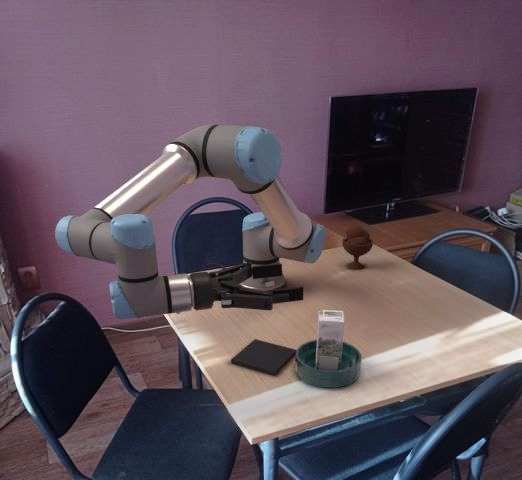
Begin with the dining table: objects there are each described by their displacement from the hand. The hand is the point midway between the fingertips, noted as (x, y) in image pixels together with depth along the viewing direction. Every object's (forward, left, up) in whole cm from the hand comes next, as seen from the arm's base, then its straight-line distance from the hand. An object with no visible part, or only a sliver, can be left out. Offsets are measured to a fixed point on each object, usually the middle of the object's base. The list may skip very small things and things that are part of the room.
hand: (291, 280), depth 106 cm
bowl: (+7, +7, -24) cm, 26 cm away
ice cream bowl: (-11, +77, -24) cm, 81 cm away
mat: (-9, +5, -24) cm, 26 cm away
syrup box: (+7, +7, -24) cm, 26 cm away
